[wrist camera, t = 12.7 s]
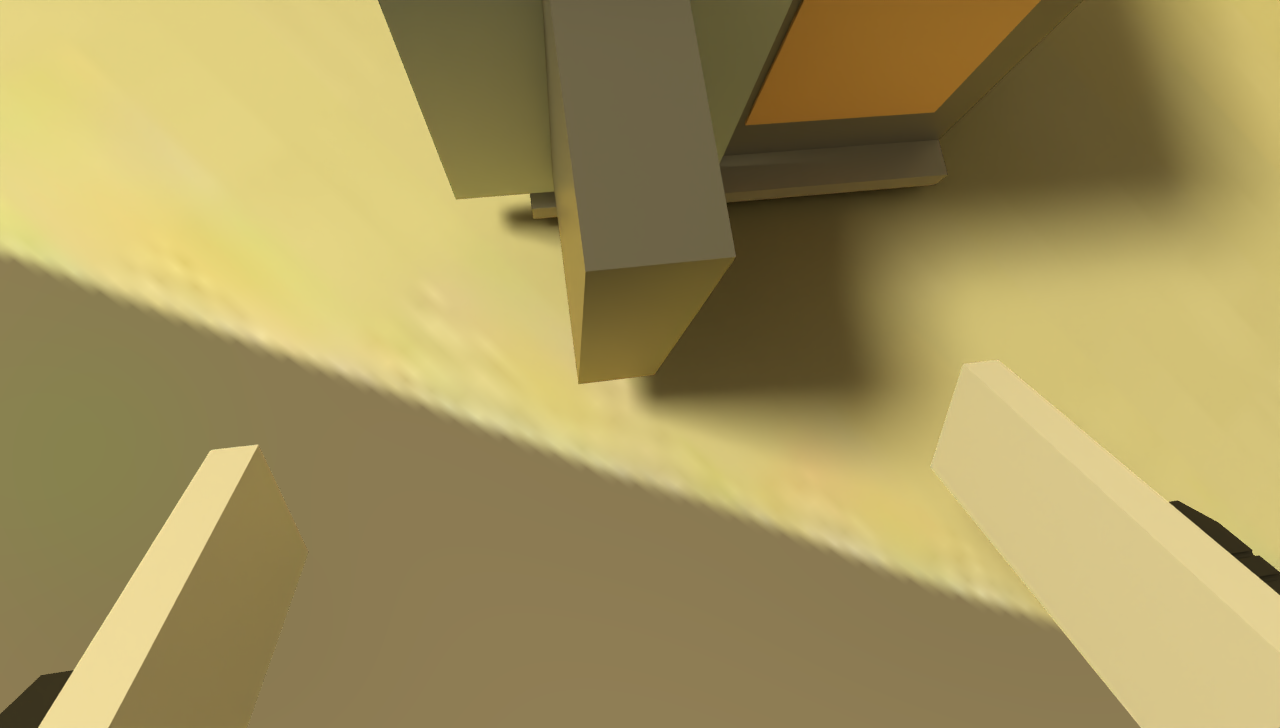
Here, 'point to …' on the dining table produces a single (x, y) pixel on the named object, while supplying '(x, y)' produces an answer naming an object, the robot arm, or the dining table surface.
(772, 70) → the camera box
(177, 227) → the dining table surface
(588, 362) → the door
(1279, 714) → the robot arm
